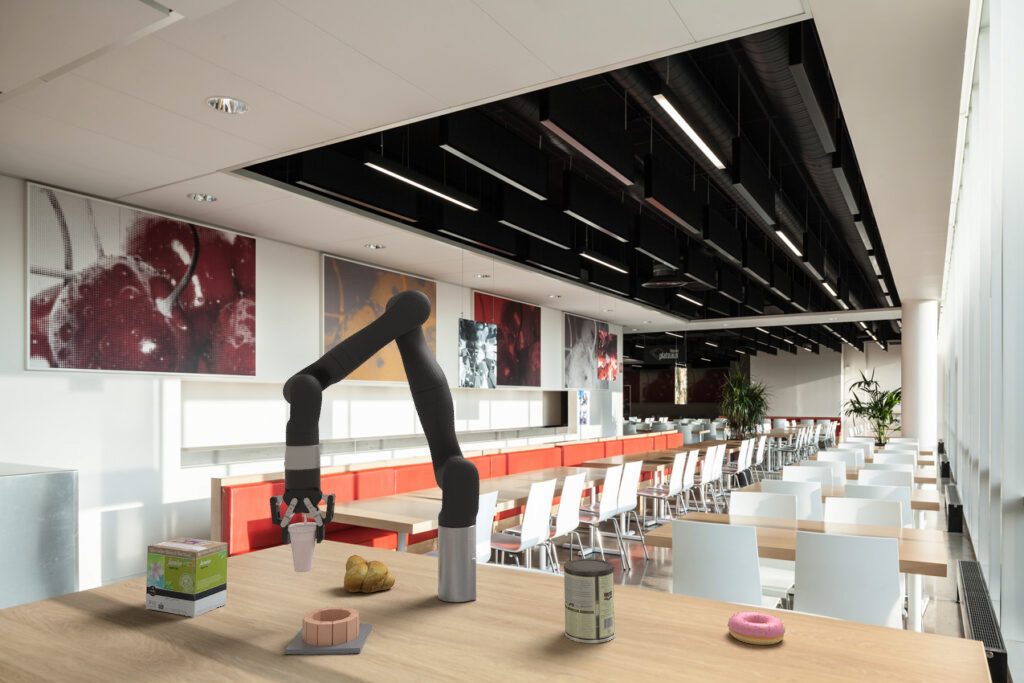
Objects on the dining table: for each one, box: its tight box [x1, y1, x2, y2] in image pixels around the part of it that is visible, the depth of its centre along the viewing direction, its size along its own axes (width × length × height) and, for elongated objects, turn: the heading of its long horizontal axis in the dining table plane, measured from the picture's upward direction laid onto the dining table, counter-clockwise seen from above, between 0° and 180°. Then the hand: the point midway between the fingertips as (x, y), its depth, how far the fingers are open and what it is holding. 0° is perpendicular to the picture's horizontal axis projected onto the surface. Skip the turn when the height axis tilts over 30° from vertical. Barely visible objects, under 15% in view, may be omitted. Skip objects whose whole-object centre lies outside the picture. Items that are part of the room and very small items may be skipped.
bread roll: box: [343, 554, 396, 593], centre depth 176 cm, size 13×10×8 cm
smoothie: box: [288, 513, 318, 573], centre depth 153 cm, size 6×6×14 cm
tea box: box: [145, 536, 229, 618], centre depth 162 cm, size 15×10×15 cm
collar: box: [285, 606, 373, 656], centre depth 140 cm, size 14×14×5 cm
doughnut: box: [727, 611, 786, 646], centre depth 142 cm, size 11×11×4 cm
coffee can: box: [562, 558, 616, 644], centre depth 143 cm, size 10×10×14 cm
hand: (303, 543), depth 153 cm, fingers closed on smoothie, 6 cm apart
